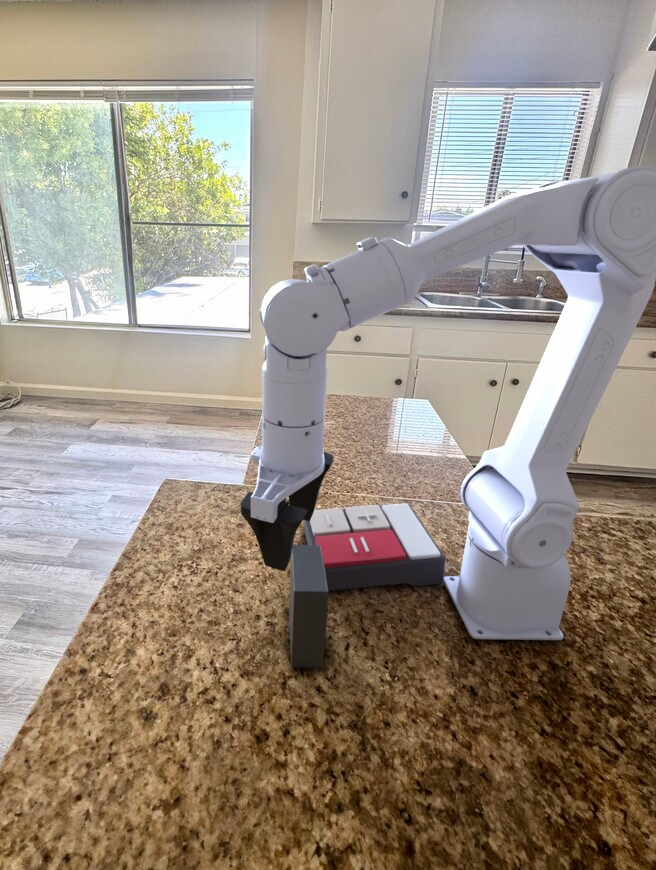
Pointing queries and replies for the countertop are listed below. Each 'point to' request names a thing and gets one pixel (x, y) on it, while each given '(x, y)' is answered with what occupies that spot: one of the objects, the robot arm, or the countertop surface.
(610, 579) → the countertop surface
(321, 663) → the block
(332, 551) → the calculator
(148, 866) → the countertop surface
